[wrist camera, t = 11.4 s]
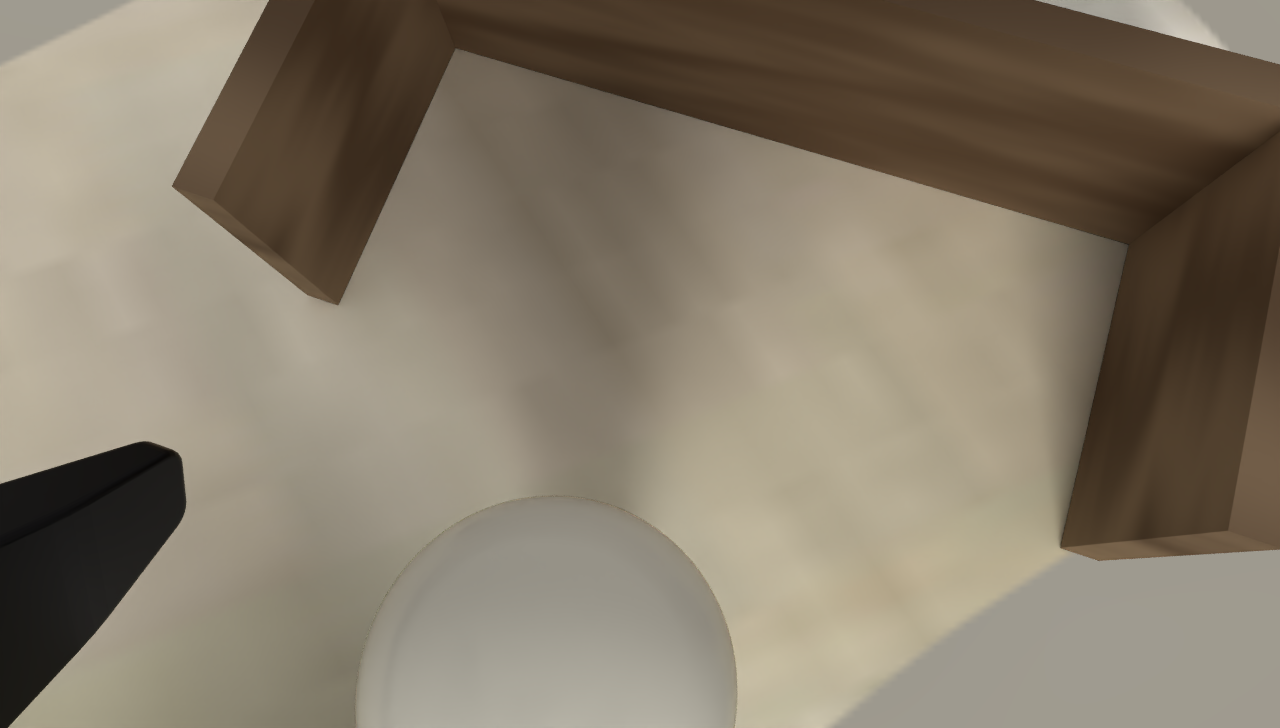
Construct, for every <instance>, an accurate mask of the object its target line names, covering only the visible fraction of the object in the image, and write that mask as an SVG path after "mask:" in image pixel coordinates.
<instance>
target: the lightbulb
mask: <svg viewBox="0 0 1280 728" xmlns="http://www.w3.org/2000/svg"><path fill="white" fill-rule="evenodd" d="M736 712H737V671H736V662H735V655H734V650H733V645H732V641H731V637H730V633H729V630H728V626H727V623H726V620H725V618H724V615H723V613H722V610H721V608H720V605H719V603H718V601H717V599H716V597H715V595H714V593H713V591H712V590H711V588H710V586H709V584H708V583H707V581H706V580H705V578H704V577H703V575H702V574H701V572H700V571H699V569H698V568H697V567H696V566H695V564H694V563H693V562H692V561H691V559H690V558H689V557H688V556H687V555H686V554H685V553H684V552H683V551H682V550H681V549H680V548H679V547H678V546H677V545H676V544H675V543H674V542H673V541H672V540H671V539H670V538H668V537H667V536H666V535H665V534H663V533H662V532H661V531H659V530H658V529H657V528H655V527H654V526H652V525H651V524H649V523H648V522H646V521H644V520H642V519H641V518H639V517H637V516H635V515H633V514H631V513H629V512H627V511H625V510H622V509H620V508H617V507H615V506H612V505H609V504H606V503H603V502H599V501H595V500H591V499H586V498H580V497H572V496H535V497H527V498H521V499H516V500H511V501H507V502H503V503H500V504H497V505H494V506H491V507H488V508H485V509H483V510H481V511H478V512H476V513H474V514H472V515H470V516H468V517H466V518H464V519H462V520H460V521H459V522H457V523H455V524H454V525H452V526H451V527H449V528H448V529H446V530H445V531H443V532H442V533H441V534H439V535H438V536H437V537H435V538H434V539H433V540H432V541H431V542H429V543H428V544H427V545H426V546H425V547H424V548H423V549H422V550H421V551H420V552H419V553H418V554H417V555H416V556H415V557H414V558H413V559H412V560H411V561H410V562H409V563H408V565H407V566H406V567H405V568H404V569H403V571H402V572H401V573H400V575H399V576H398V577H397V579H396V580H395V582H394V583H393V584H392V586H391V587H390V589H389V591H388V592H387V594H386V595H385V597H384V599H383V601H382V603H381V604H380V606H379V608H378V610H377V612H376V614H375V617H374V619H373V621H372V624H371V626H370V629H369V631H368V634H367V637H366V640H365V643H364V647H363V650H362V654H361V658H360V663H359V668H358V674H357V682H356V692H355V723H356V728H735V721H736Z"/></svg>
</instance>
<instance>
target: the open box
mask: <svg viewBox="0 0 1280 728" xmlns="http://www.w3.org/2000/svg"><path fill="white" fill-rule="evenodd" d="M455 48H458V49H462V50H465V51H468V52H472V53H475V54H479V55H482V56H485V57H489V58H492V59H496V60H499V61H503V62H506V63H509V64H513V65H516V66H520V67H523V68H527V69H530V70H533V71H537V72H540V73H544V74H547V75H551V76H554V77H557V78H561V79H564V80H568V81H571V82H575V83H578V84H581V85H585V86H588V87H592V88H595V89H599V90H602V91H605V92H609V93H612V94H616V95H619V96H623V97H626V98H629V99H633V100H636V101H640V102H643V103H647V104H650V105H653V106H657V107H660V108H664V109H667V110H670V111H674V112H677V113H681V114H684V115H688V116H691V117H694V118H698V119H701V120H705V121H708V122H712V123H715V124H718V125H722V126H725V127H729V128H732V129H736V130H739V131H742V132H746V133H749V134H753V135H756V136H760V137H763V138H766V139H770V140H773V141H777V142H780V143H784V144H787V145H790V146H794V147H797V148H801V149H804V150H808V151H811V152H814V153H818V154H821V155H825V156H828V157H832V158H835V159H838V160H842V161H845V162H849V163H852V164H855V165H859V166H862V167H866V168H869V169H873V170H876V171H879V172H883V173H886V174H890V175H893V176H897V177H900V178H903V179H907V180H910V181H914V182H917V183H921V184H924V185H927V186H931V187H934V188H938V189H941V190H945V191H948V192H951V193H955V194H958V195H962V196H965V197H969V198H972V199H975V200H979V201H982V202H986V203H989V204H993V205H996V206H999V207H1003V208H1006V209H1010V210H1013V211H1017V212H1020V213H1023V214H1027V215H1030V216H1034V217H1037V218H1040V219H1044V220H1047V221H1051V222H1054V223H1058V224H1061V225H1064V226H1068V227H1071V228H1075V229H1078V230H1082V231H1085V232H1088V233H1092V234H1095V235H1099V236H1102V237H1106V238H1109V239H1112V240H1116V241H1119V242H1123V243H1126V244H1129V247H1128V251H1127V256H1126V260H1125V265H1124V269H1123V273H1122V278H1121V282H1120V287H1119V291H1118V296H1117V300H1116V304H1115V309H1114V313H1113V318H1112V322H1111V326H1110V331H1109V335H1108V340H1107V344H1106V348H1105V353H1104V357H1103V362H1102V366H1101V371H1100V375H1099V379H1098V384H1097V388H1096V393H1095V397H1094V401H1093V406H1092V410H1091V415H1090V419H1089V423H1088V428H1087V432H1086V437H1085V441H1084V446H1083V450H1082V454H1081V459H1080V463H1079V468H1078V472H1077V476H1076V481H1075V485H1074V490H1073V494H1072V498H1071V503H1070V507H1069V512H1068V516H1067V521H1066V525H1065V529H1064V534H1063V538H1062V543H1061V547H1060V548H1062V549H1065V550H1068V551H1071V552H1074V553H1077V554H1080V555H1083V556H1086V557H1089V558H1092V559H1095V560H1098V561H1102V560H1117V559H1133V558H1134V559H1135V558H1150V557H1166V556H1183V555H1199V554H1215V553H1229V552H1247V551H1263V550H1277V549H1278V550H1279V549H1280V65H1279V64H1275V63H1272V62H1268V61H1264V60H1261V59H1257V58H1253V57H1249V56H1245V55H1241V54H1238V53H1234V52H1230V51H1226V50H1222V49H1219V48H1215V47H1211V46H1207V45H1203V44H1200V43H1196V42H1192V41H1188V40H1184V39H1180V38H1177V37H1173V36H1169V35H1165V34H1161V33H1158V32H1154V31H1150V30H1146V29H1142V28H1139V27H1135V26H1131V25H1127V24H1123V23H1119V22H1116V21H1112V20H1108V19H1104V18H1100V17H1097V16H1093V15H1089V14H1085V13H1081V12H1078V11H1074V10H1070V9H1066V8H1062V7H1058V6H1055V5H1051V4H1047V3H1043V2H1039V1H1036V0H269V1H268V3H267V5H266V7H265V9H264V11H263V13H262V15H261V17H260V19H259V20H258V22H257V24H256V26H255V28H254V30H253V32H252V34H251V36H250V38H249V40H248V42H247V43H246V45H245V47H244V49H243V51H242V53H241V55H240V57H239V59H238V61H237V63H236V64H235V66H234V68H233V70H232V72H231V74H230V76H229V78H228V80H227V82H226V84H225V86H224V87H223V89H222V91H221V93H220V95H219V97H218V99H217V101H216V103H215V105H214V107H213V108H212V110H211V112H210V114H209V116H208V118H207V120H206V122H205V124H204V126H203V128H202V130H201V131H200V133H199V135H198V137H197V139H196V141H195V143H194V145H193V147H192V149H191V151H190V152H189V154H188V156H187V158H186V160H185V162H184V164H183V166H182V168H181V170H180V172H179V174H178V175H177V177H176V179H175V181H174V183H173V185H172V187H173V188H175V189H176V190H177V191H178V192H180V193H181V194H182V195H183V196H185V197H186V198H187V199H188V200H190V201H191V202H192V203H193V204H195V205H196V206H197V207H198V208H200V209H201V210H202V211H203V212H205V213H206V214H207V215H208V216H210V217H211V218H212V219H213V220H214V221H216V222H217V223H218V224H219V225H221V226H222V227H223V228H224V229H226V230H227V231H228V232H229V233H231V234H232V235H233V236H234V237H236V238H237V239H238V240H239V241H241V242H242V243H243V244H244V245H246V246H247V247H248V248H249V249H251V250H252V251H253V252H254V253H256V254H257V255H258V256H259V257H261V258H262V259H263V260H264V261H266V262H267V263H268V264H269V265H271V266H272V267H273V268H274V269H276V270H277V271H278V272H279V273H281V274H282V275H283V276H284V277H286V278H287V279H288V280H289V281H291V282H292V283H293V284H294V285H296V286H297V287H298V288H299V289H301V290H302V291H303V292H304V293H306V294H307V295H309V296H312V297H315V298H318V299H321V300H324V301H327V302H330V303H333V304H336V305H338V304H339V302H340V300H341V298H342V296H343V293H344V291H345V289H346V287H347V285H348V282H349V280H350V278H351V276H352V274H353V271H354V269H355V267H356V265H357V263H358V260H359V258H360V256H361V254H362V252H363V249H364V247H365V245H366V243H367V241H368V239H369V236H370V234H371V232H372V230H373V228H374V225H375V223H376V221H377V219H378V217H379V214H380V212H381V210H382V208H383V206H384V203H385V201H386V199H387V197H388V195H389V192H390V190H391V188H392V186H393V184H394V181H395V179H396V177H397V175H398V173H399V170H400V168H401V166H402V164H403V162H404V159H405V157H406V155H407V153H408V151H409V148H410V146H411V144H412V142H413V140H414V138H415V135H416V133H417V131H418V129H419V127H420V124H421V122H422V120H423V118H424V116H425V113H426V111H427V109H428V107H429V105H430V102H431V100H432V98H433V96H434V94H435V91H436V89H437V87H438V85H439V83H440V80H441V78H442V76H443V74H444V72H445V69H446V67H447V65H448V63H449V61H450V58H451V56H452V54H453V52H454V50H455Z"/></svg>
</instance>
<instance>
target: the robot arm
mask: <svg viewBox="0 0 1280 728" xmlns="http://www.w3.org/2000/svg"><path fill="white" fill-rule="evenodd" d="M185 509H186V493H185V484H184V474H183V464H182V459H181V457H180V455H179V454H178V453H177V452H176V451H174V450H172V449H169V448H166V447H164V446H161V445H158V444H155V443H152V442H147V441H142V442H137V443H133V444H130V445H127V446H123V447H120V448H117V449H113V450H110V451H107V452H103V453H100V454H97V455H94V456H90V457H87V458H84V459H80V460H77V461H74V462H71V463H67V464H64V465H61V466H57V467H54V468H51V469H48V470H44V471H41V472H38V473H34V474H31V475H28V476H25V477H21V478H18V479H15V480H11V481H8V482H5V483H2V484H0V728H8V727H9V726H10V725H11V724H12V723H13V721H14V720H15V719H16V718H17V717H18V716H19V715H20V714H21V713H22V712H23V711H24V710H25V709H26V707H27V706H28V705H29V704H30V703H31V702H32V701H33V700H34V699H35V698H36V697H37V696H38V695H39V693H40V692H41V691H42V690H43V689H44V688H45V687H46V686H47V685H48V684H49V683H50V682H51V681H52V679H53V678H54V677H55V676H56V675H57V674H58V673H59V672H60V671H61V670H62V669H63V668H64V667H65V666H66V664H67V663H68V662H69V661H70V660H71V659H72V658H73V657H74V656H75V655H76V654H77V653H78V652H79V650H80V649H81V648H82V647H83V646H84V645H85V644H86V643H87V641H88V640H89V639H90V638H91V637H92V636H93V635H94V634H95V632H96V631H97V630H98V629H99V628H100V626H101V625H102V624H103V623H104V621H105V620H106V619H107V618H108V617H109V615H110V614H111V613H112V611H113V610H114V609H115V607H116V606H117V605H118V604H119V602H120V601H121V600H122V598H123V597H124V596H125V594H126V593H127V592H128V590H129V589H130V588H131V586H132V585H133V584H134V583H135V581H136V580H137V579H138V577H139V576H140V575H141V573H142V572H143V571H144V569H145V568H146V567H147V566H148V564H149V563H150V562H151V560H152V559H153V558H154V556H155V555H156V554H157V552H158V551H159V550H160V548H161V547H162V546H163V545H164V543H165V542H166V541H167V539H168V538H169V537H170V535H171V534H172V533H173V531H174V530H175V529H176V528H177V526H178V525H179V523H180V522H181V520H182V518H183V515H184V513H185Z"/></svg>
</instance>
